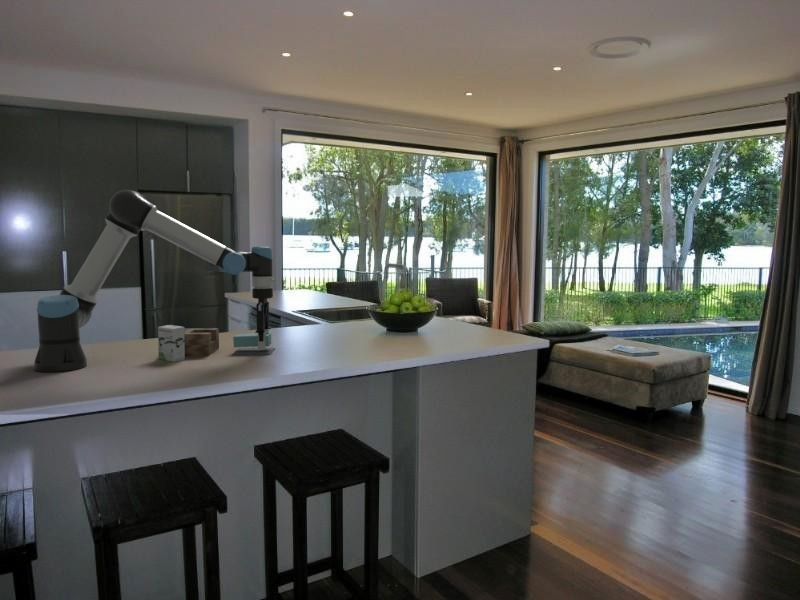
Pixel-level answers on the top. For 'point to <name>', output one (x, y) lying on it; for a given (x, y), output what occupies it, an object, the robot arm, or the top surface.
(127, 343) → the top surface
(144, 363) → the top surface
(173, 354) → the ink box
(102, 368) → the top surface
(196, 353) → the block
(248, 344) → the slab
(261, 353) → the mat
